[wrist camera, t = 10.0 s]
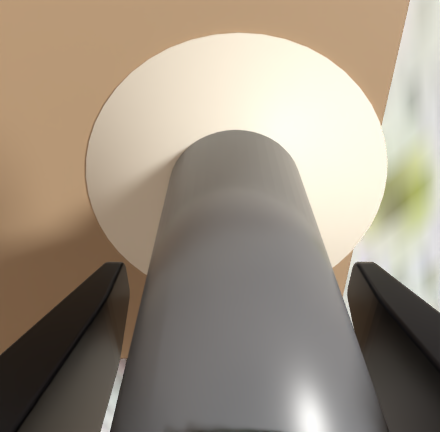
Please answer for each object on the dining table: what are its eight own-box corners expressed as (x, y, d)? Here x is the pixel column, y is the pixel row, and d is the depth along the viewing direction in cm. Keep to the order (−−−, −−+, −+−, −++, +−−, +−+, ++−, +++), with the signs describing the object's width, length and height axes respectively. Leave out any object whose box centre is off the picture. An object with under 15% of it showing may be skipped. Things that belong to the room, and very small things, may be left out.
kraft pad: (336, 347, 17) (341, 360, 17) (0, 346, 17) (-8, 360, 17) (457, -156, 8) (475, -165, 8) (-233, -152, 8) (-268, -160, 8)
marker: (295, 246, 13) (420, 746, 5) (171, 246, 13) (86, 742, 5) (310, 128, 11) (589, 681, 3) (161, 128, 11) (-31, 677, 3)
